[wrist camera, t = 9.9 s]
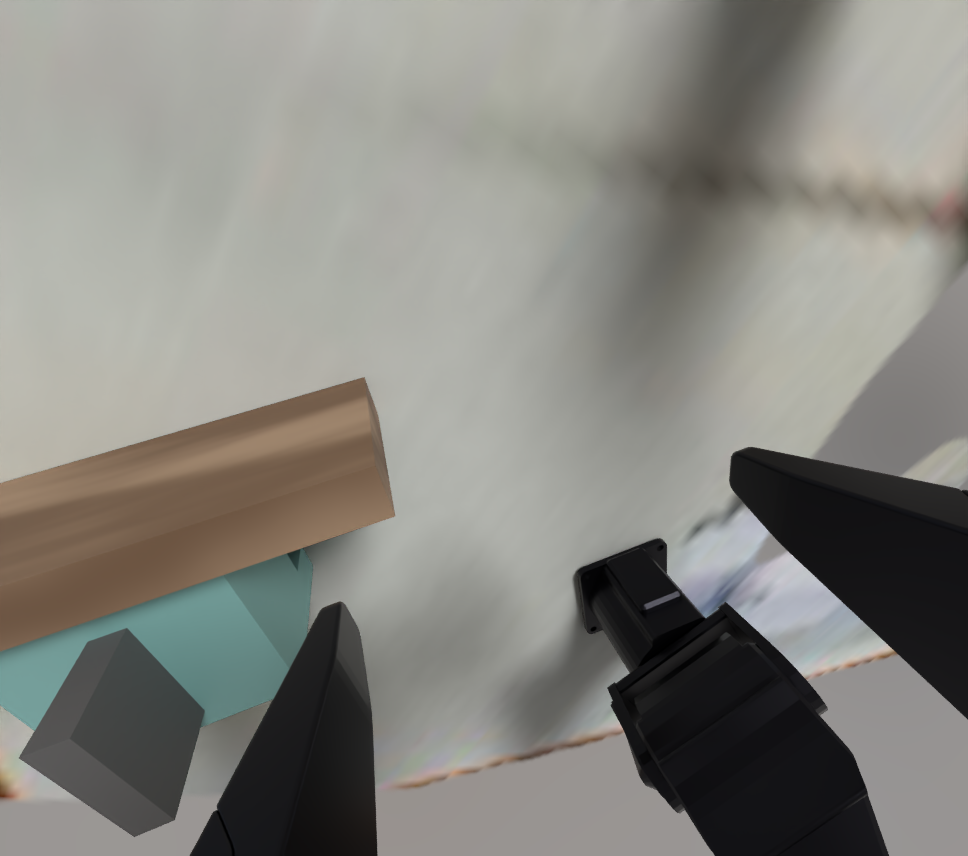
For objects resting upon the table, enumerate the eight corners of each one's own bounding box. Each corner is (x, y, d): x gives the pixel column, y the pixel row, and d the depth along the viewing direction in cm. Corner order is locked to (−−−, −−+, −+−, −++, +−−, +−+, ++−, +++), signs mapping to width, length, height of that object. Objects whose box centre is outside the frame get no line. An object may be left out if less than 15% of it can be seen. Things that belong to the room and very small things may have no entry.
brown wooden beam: (405, 491, 23) (431, 609, 16) (-17, 632, 20) (-202, 850, 13) (364, 377, 20) (375, 465, 13) (-144, 525, 17) (-473, 739, 10)
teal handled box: (312, 565, 24) (294, 785, 15) (156, 621, 23) (32, 896, 14) (257, 466, 21) (190, 669, 12) (72, 525, 19) (-165, 801, 10)
